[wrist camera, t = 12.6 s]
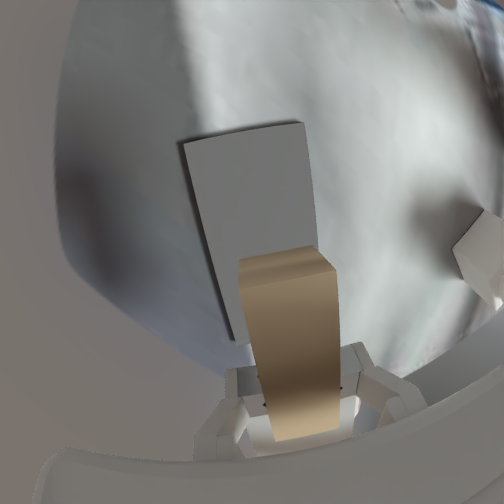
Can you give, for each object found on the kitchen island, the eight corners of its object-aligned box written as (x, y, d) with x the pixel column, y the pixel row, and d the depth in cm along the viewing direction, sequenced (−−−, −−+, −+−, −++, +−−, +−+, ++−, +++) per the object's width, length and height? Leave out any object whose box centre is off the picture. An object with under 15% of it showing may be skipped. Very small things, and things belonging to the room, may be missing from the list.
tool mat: (184, 143, 19) (183, 144, 19) (302, 122, 19) (304, 122, 19) (236, 341, 28) (237, 345, 28) (320, 325, 28) (321, 328, 28)
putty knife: (202, 265, 11) (189, 297, 8) (346, 238, 11) (379, 260, 8) (262, 461, 15) (265, 495, 12) (345, 444, 15) (356, 475, 12)
